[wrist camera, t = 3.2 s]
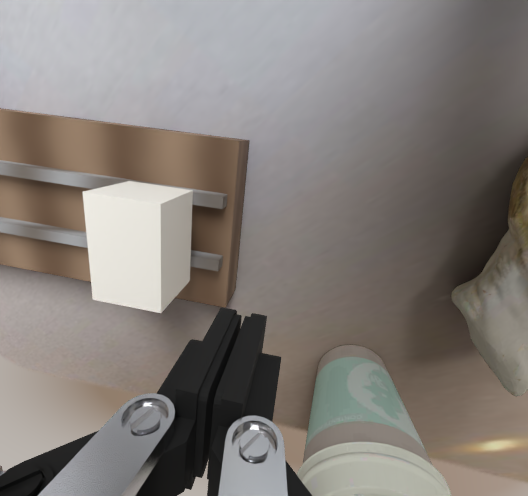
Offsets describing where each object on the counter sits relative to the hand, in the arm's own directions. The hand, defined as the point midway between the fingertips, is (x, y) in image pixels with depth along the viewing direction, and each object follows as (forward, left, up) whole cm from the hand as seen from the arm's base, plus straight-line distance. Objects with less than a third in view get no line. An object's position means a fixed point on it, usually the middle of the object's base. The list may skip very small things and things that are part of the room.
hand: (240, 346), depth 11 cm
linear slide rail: (+17, -1, -14) cm, 22 cm away
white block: (+7, -1, -10) cm, 12 cm away
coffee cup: (-8, +11, -14) cm, 19 cm away
